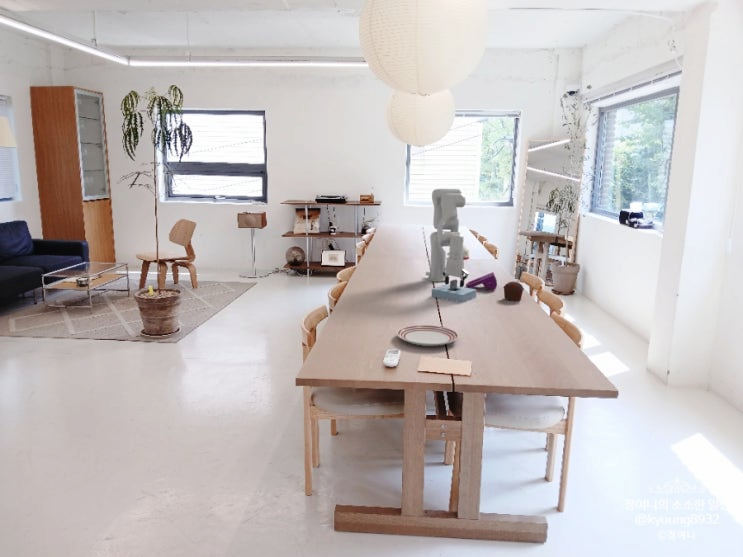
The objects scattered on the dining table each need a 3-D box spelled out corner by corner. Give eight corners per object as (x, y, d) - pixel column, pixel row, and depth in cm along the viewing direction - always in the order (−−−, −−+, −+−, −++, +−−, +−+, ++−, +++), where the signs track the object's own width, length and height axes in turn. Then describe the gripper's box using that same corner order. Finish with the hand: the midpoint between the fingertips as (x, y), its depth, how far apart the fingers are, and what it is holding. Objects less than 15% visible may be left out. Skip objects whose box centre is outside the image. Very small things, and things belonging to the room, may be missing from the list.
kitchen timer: (471, 257, 436) (472, 239, 432) (464, 260, 424) (465, 241, 421) (455, 255, 443) (456, 237, 439) (448, 258, 431) (449, 239, 428)
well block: (431, 296, 318) (431, 288, 317) (446, 291, 330) (446, 284, 329) (462, 302, 306) (462, 294, 305) (475, 297, 318) (476, 289, 317)
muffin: (512, 303, 307) (513, 285, 305) (498, 298, 316) (499, 281, 314) (527, 300, 314) (528, 283, 311) (512, 295, 323) (514, 279, 320)
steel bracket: (447, 297, 317) (448, 280, 315) (452, 295, 321) (453, 279, 318) (453, 298, 314) (454, 281, 312) (458, 297, 318) (459, 280, 316)
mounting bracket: (470, 298, 338) (498, 288, 333) (465, 286, 337) (493, 275, 332) (471, 294, 347) (498, 284, 342) (466, 282, 346) (493, 272, 341)
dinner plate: (397, 329, 260) (397, 322, 260) (456, 331, 258) (456, 324, 257) (395, 349, 234) (395, 342, 233) (460, 352, 231) (460, 344, 231)
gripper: (439, 255, 315) (437, 284, 319) (465, 259, 305) (464, 289, 309) (446, 253, 321) (444, 281, 325) (472, 257, 310) (470, 286, 314)
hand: (454, 285), depth 317 cm, fingers open, 9 cm apart
